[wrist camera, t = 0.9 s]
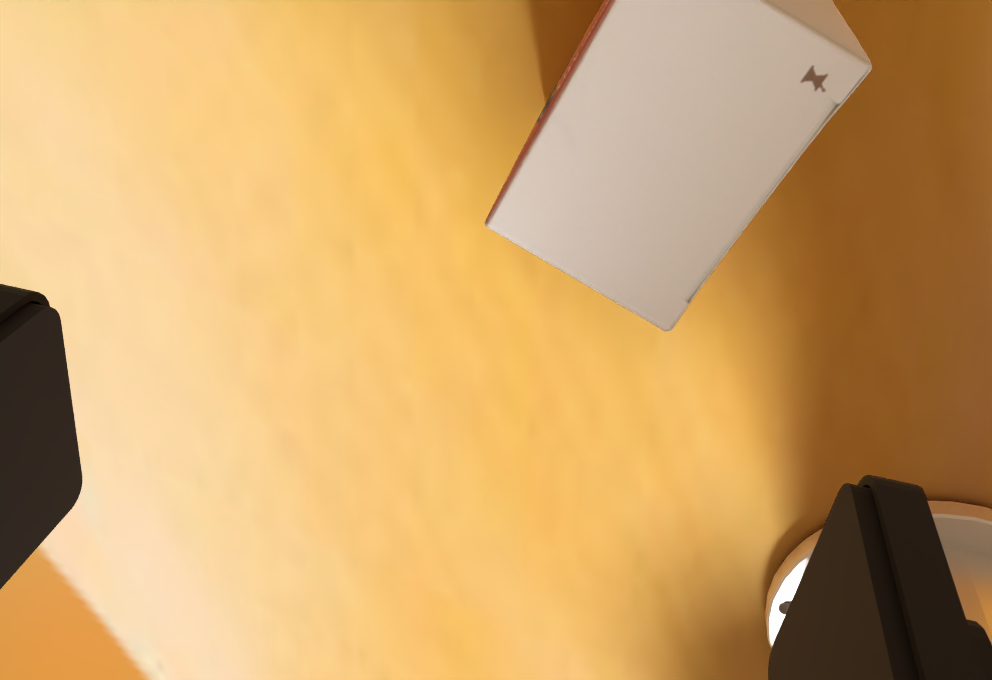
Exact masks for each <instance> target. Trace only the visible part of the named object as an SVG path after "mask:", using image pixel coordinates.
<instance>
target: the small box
mask: <svg viewBox="0 0 992 680" xmlns="http://www.w3.org/2000/svg"><path fill="white" fill-rule="evenodd" d="M871 70H872V64H871V61H870V59H869V58H868V56H867V54H866V52H865V51H864V50H863V48H862V46H861V45H860V43H859V41H858V39H857V38H856V36H855V35H854V33H853V32H852V30H851V29H850V27H849V26H848V25H847V23H846V21H845V20H844V18H843V17H842V15H841V13H840V12H839V11H838V9H837V7H836V5H835V4H834V2H833V0H604V1H603V3H602V5H601V7H600V8H599V10H598V12H597V14H596V15H595V17H594V19H593V21H592V22H591V24H590V26H589V28H588V29H587V31H586V33H585V35H584V36H583V38H582V40H581V42H580V44H579V45H578V47H577V49H576V51H575V53H574V55H573V56H572V58H571V60H570V62H569V64H568V66H567V67H566V69H565V71H564V73H563V75H562V76H561V78H560V80H559V82H558V83H557V85H556V87H555V89H554V91H553V92H552V94H551V96H550V98H549V100H548V102H547V103H546V105H545V107H544V109H543V111H542V113H541V115H540V116H539V118H538V120H537V122H536V124H535V126H534V128H533V130H532V132H531V134H530V135H529V137H528V139H527V141H526V143H525V145H524V147H523V149H522V151H521V153H520V154H519V156H518V158H517V160H516V162H515V164H514V166H513V168H512V170H511V172H510V174H509V176H508V178H507V180H506V182H505V184H504V185H503V187H502V189H501V191H500V193H499V195H498V197H497V199H496V201H495V203H494V205H493V207H492V209H491V211H490V213H489V215H488V217H487V219H486V222H485V226H486V227H487V228H489V229H490V230H492V231H494V232H496V233H498V234H499V235H501V236H503V237H504V238H506V239H508V240H510V241H511V242H513V243H515V244H516V245H518V246H520V247H521V248H523V249H525V250H527V251H528V252H530V253H532V254H533V255H535V256H537V257H539V258H540V259H542V260H544V261H545V262H547V263H549V264H551V265H552V266H554V267H556V268H557V269H559V270H561V271H562V272H564V273H566V274H568V275H569V276H571V277H573V278H574V279H576V280H578V281H580V282H581V283H583V284H585V285H586V286H588V287H590V288H592V289H593V290H595V291H597V292H598V293H600V294H602V295H604V296H605V297H607V298H609V299H610V300H612V301H614V302H615V303H617V304H619V305H621V306H622V307H624V308H626V309H628V310H629V311H631V312H633V313H634V314H636V315H638V316H640V317H641V318H643V319H645V320H646V321H648V322H650V323H652V324H653V325H655V326H657V327H658V328H660V329H661V330H664V331H671V330H672V329H673V328H674V326H675V325H676V323H677V322H678V320H679V319H680V317H681V316H682V314H683V313H684V312H685V310H686V308H687V307H688V305H689V304H690V302H691V301H692V300H693V298H694V297H695V295H696V294H697V292H698V291H699V290H700V288H701V287H702V286H703V284H704V283H705V281H706V280H707V279H708V277H709V276H710V275H711V273H712V272H713V271H714V269H715V268H716V267H717V265H718V264H719V263H720V261H721V260H722V259H723V257H724V256H725V255H726V253H727V252H728V251H729V249H730V248H731V247H732V245H733V244H734V243H735V242H736V240H737V239H738V238H739V236H740V235H741V234H742V232H743V231H744V230H745V228H746V227H747V226H748V224H749V223H750V222H751V220H752V219H753V218H754V216H755V215H756V214H757V212H758V211H759V210H760V208H761V207H762V206H763V205H764V203H765V202H766V201H767V199H768V198H769V197H770V195H771V194H772V193H773V192H774V190H775V189H776V188H777V186H778V185H779V184H780V182H781V181H782V180H783V179H784V177H785V176H786V175H787V173H788V172H789V171H790V170H791V168H792V167H793V166H794V164H795V163H796V162H797V160H798V159H799V158H800V156H801V155H802V154H803V152H804V151H805V150H806V149H807V148H808V146H809V145H810V144H811V143H812V141H813V140H814V139H815V138H816V136H817V135H818V134H819V133H820V131H821V130H822V129H823V127H824V126H825V125H826V124H827V122H828V121H829V120H830V119H831V117H832V116H833V115H834V114H835V113H836V112H837V110H838V109H839V108H840V107H841V106H842V105H843V104H844V103H845V101H846V100H847V99H848V98H849V97H850V95H851V94H852V93H853V92H854V91H855V89H856V88H857V87H858V86H859V85H860V83H861V82H862V81H863V80H864V79H865V78H866V76H867V75H868V74H869V73H870V72H871Z"/></svg>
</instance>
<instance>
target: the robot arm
mask: <svg viewBox="0 0 992 680" xmlns="http://www.w3.org/2000/svg"><path fill="white" fill-rule="evenodd" d="M81 487H82V471H81V464H80V457H79V450H78V442H77V435H76V428H75V420H74V413H73V406H72V399H71V391H70V384H69V377H68V370H67V362H66V355H65V348H64V340H63V333H62V326H61V320H60V316H59V313H58V312H57V311H56V309H54V308H52V307H50V305H49V302H48V300H47V299H46V297H45V296H44V295H43V294H41V293H39V292H35V291H30V290H26V289H21V288H17V287H12V286H8V285H3V284H0V589H1V588H2V587H3V586H4V584H5V583H6V582H7V581H8V580H9V579H10V578H11V577H12V575H13V574H14V573H15V572H16V571H17V570H18V569H19V567H20V566H21V565H22V564H23V563H24V562H25V561H26V559H27V558H28V557H29V556H30V555H31V554H32V553H33V552H34V551H35V549H36V548H37V547H38V546H39V545H40V544H41V543H42V541H43V540H44V539H45V538H46V537H47V536H48V535H49V534H50V532H51V531H52V530H53V529H54V528H55V527H56V526H57V524H58V523H59V522H60V521H61V520H62V519H63V518H64V517H65V515H66V514H67V513H68V512H69V511H70V510H71V509H72V507H73V506H74V504H75V503H76V501H77V499H78V497H79V494H80V491H81ZM765 616H766V626H767V638H768V641H769V644H770V648H771V653H770V659H769V668H768V678H769V680H992V509H990V508H987V507H983V506H977V505H971V504H965V503H959V502H953V501H927V498H926V495H925V493H924V491H923V489H922V488H921V487H919V486H918V485H913V484H909V483H904V482H900V481H895V480H891V479H886V478H881V477H877V476H872V475H866V476H864V477H863V478H862V479H861V480H860V482H859V484H858V486H857V485H853V484H848V483H846V484H844V485H843V486H842V487H841V489H840V491H839V492H838V495H837V497H836V499H835V501H834V504H833V506H832V508H831V511H830V513H829V515H828V518H827V520H826V522H825V525H824V527H823V528H822V529H820V530H818V531H817V532H815V533H814V534H812V535H811V536H809V537H808V538H806V539H805V540H804V541H803V542H802V543H801V544H800V545H798V546H797V547H796V548H795V549H794V550H793V551H792V552H791V553H790V554H789V555H788V556H787V557H786V559H785V560H784V562H783V563H782V565H781V566H780V568H779V569H778V570H777V572H776V573H775V575H774V578H773V580H772V583H771V586H770V588H769V591H768V594H767V602H766V612H765Z"/></svg>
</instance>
